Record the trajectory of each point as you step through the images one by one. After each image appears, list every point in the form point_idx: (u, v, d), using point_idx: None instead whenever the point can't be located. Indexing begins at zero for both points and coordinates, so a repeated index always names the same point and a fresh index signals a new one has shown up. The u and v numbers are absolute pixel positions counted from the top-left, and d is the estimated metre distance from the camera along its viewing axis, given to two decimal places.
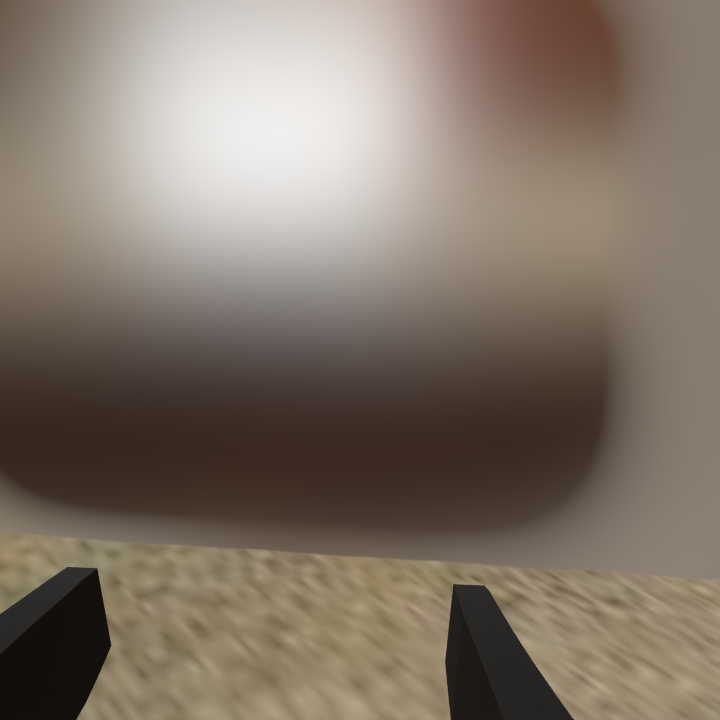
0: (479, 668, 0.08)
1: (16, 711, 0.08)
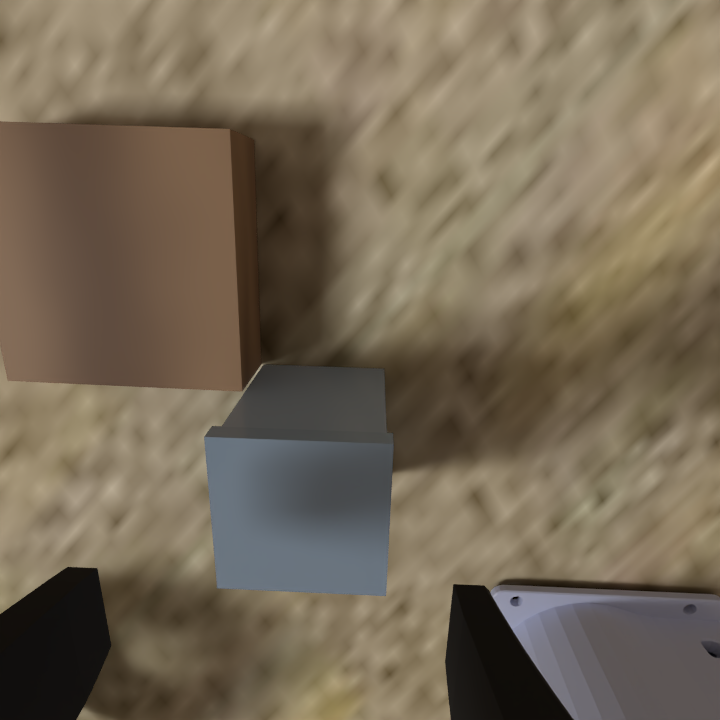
0: (479, 668, 0.08)
1: (16, 710, 0.08)
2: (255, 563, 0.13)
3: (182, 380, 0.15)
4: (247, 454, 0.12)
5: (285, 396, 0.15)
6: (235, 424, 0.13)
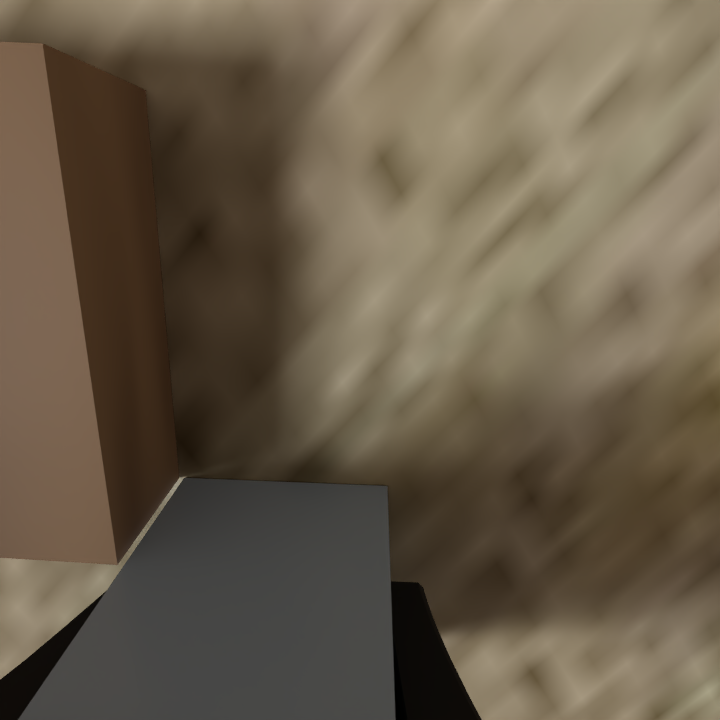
0: (397, 664, 0.08)
1: None
2: None
3: (3, 544, 0.08)
4: None
5: (196, 581, 0.08)
6: (53, 709, 0.06)
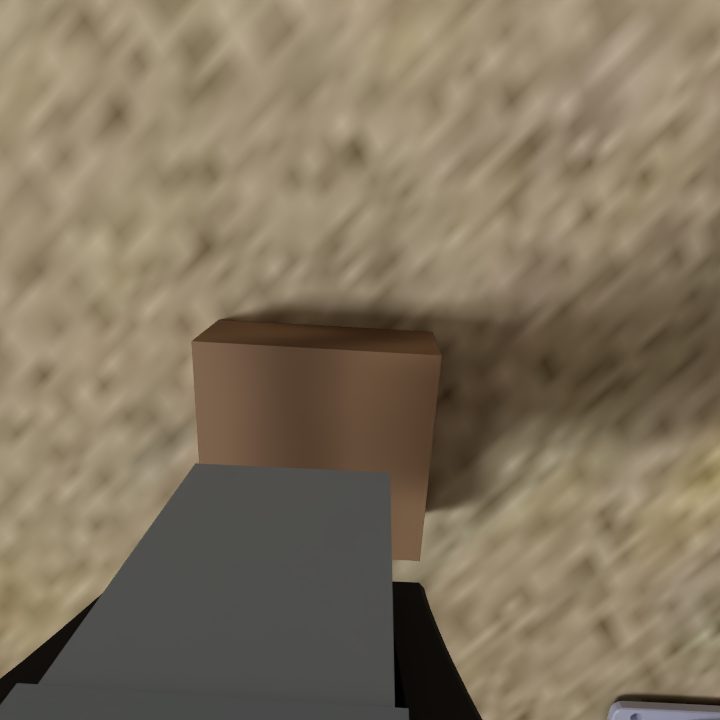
0: (397, 664, 0.08)
1: None
2: None
3: None
4: None
5: (207, 556, 0.08)
6: (77, 665, 0.06)
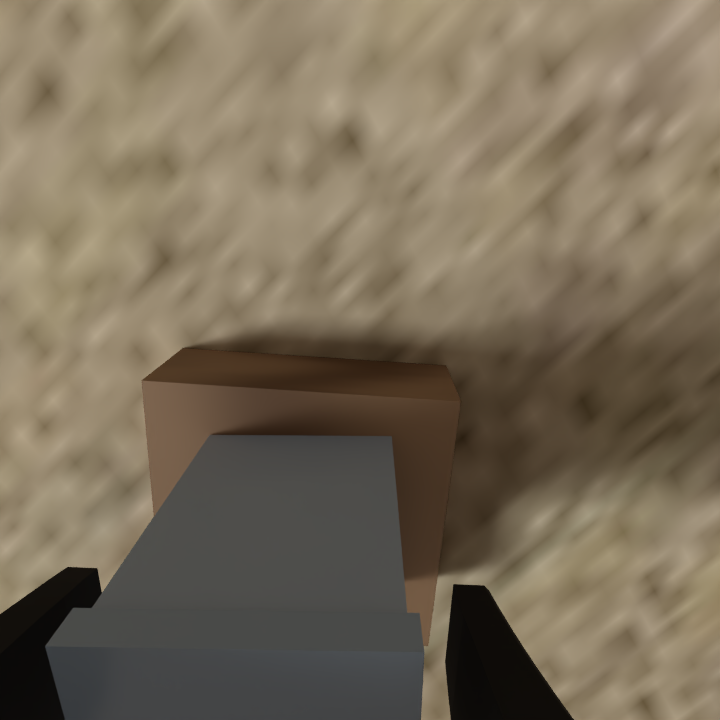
0: (479, 668, 0.08)
1: (16, 711, 0.08)
2: None
3: None
4: (134, 673, 0.06)
5: (230, 507, 0.09)
6: (123, 594, 0.07)
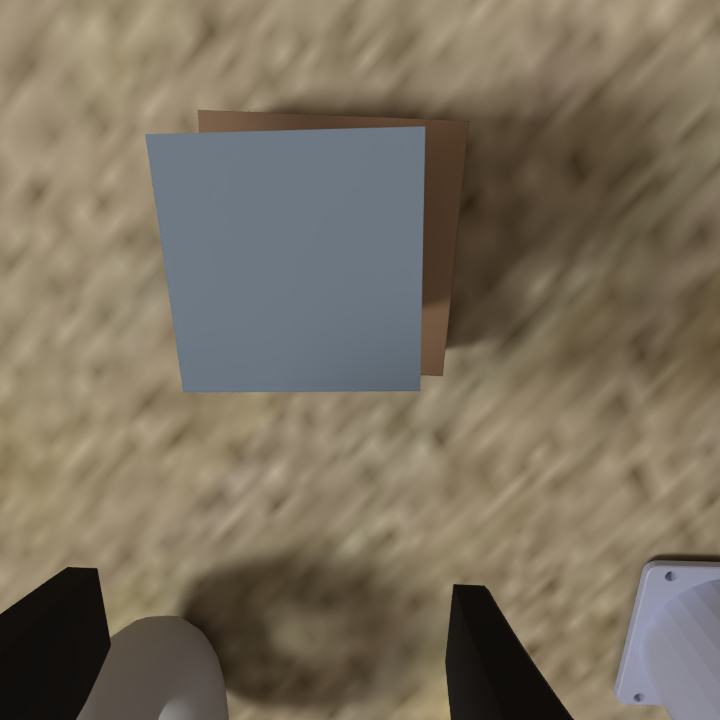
0: (479, 668, 0.08)
1: (16, 711, 0.08)
2: (233, 348, 0.09)
3: None
4: (210, 161, 0.08)
5: None
6: None
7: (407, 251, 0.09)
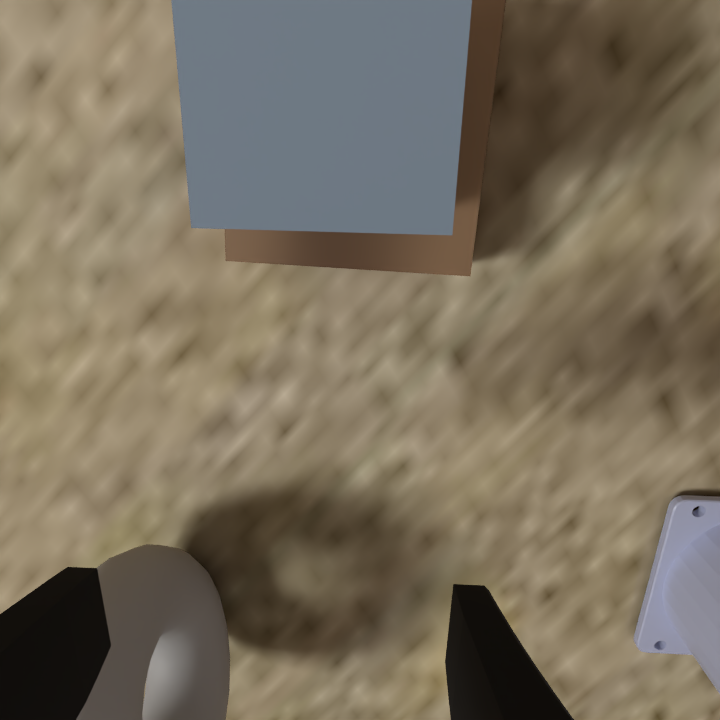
0: (479, 668, 0.08)
1: (16, 711, 0.08)
2: (249, 175, 0.08)
3: (409, 263, 0.15)
4: None
5: None
6: None
7: (449, 61, 0.08)
